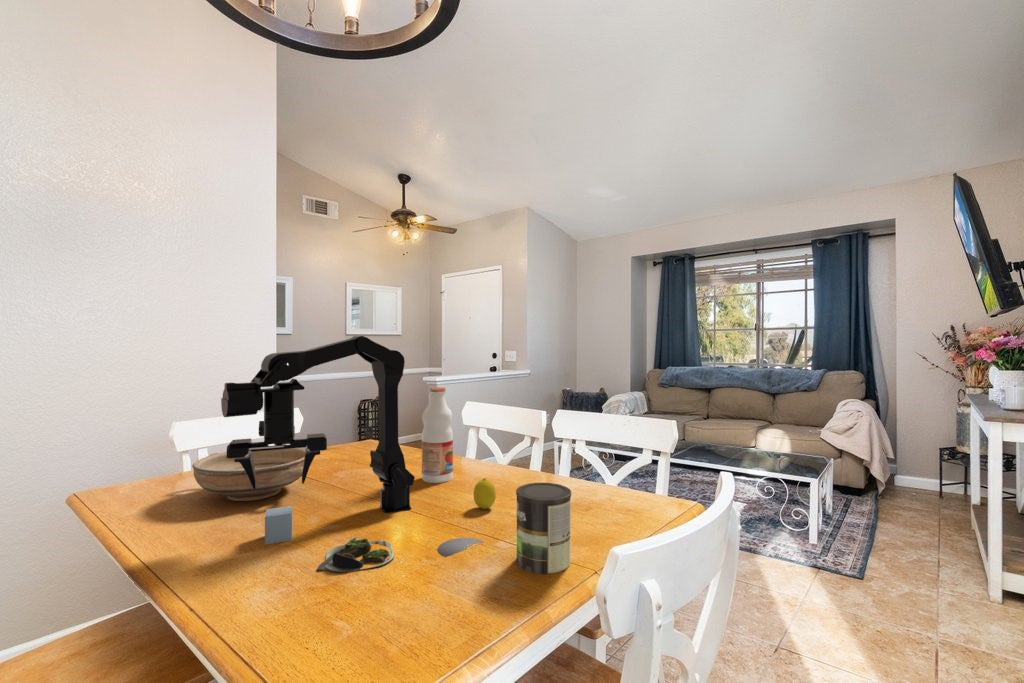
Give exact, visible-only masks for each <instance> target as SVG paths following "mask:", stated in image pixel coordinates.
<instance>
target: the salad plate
mask: <svg viewBox="0 0 1024 683" xmlns="http://www.w3.org/2000/svg"><path fill="white" fill-rule="evenodd" d="M373 545H380V546H382V547H385V548H388V549H389V551H388V550H387V549H385V548H382V549H381V548H378V549H373V550H372V551H371V548H372V546H373ZM325 555H326V556H325V560H323V561H322V562H321V563H320V564H319V565H318V567H317V568H318V571H320V570H322V571H326V572H329V573H334V574H346V573H354V572H355V573H356V572H360V571H361V572H362V571H370V570H375V569H380V568H384V567H385V566H387V565H389V564H391V562H393V560H394V559H395V554H394V550H393V546H392V543H391V542H389V541H386V540H381V539H380V540H378V539H377V540H371V541H369V539H367V538H361V539H359V538H358V537H352V538H351V539H349V540H348V541H347V542H346V543H345V544H341V545H338V546H335V547H332V548H331V549H329V550H328V551H327V552H326V554H325ZM361 556H362V558H361V559H359V560H358V559H357V558H359V557H361ZM370 563H379V564H377V565H373V566H371V567H365V568H364V565H366V564H370Z"/></svg>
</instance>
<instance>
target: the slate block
mask: <svg viewBox="0 0 1024 683" xmlns="http://www.w3.org/2000/svg"><path fill="white" fill-rule="evenodd" d="M292 540H293V506H292V505H291V506H282V507H274V508H273V507H272V508H267V509H266V511H265V515H264V545H269V544H277V543H283V542H291V541H292Z"/></svg>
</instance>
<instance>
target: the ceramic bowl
mask: <svg viewBox="0 0 1024 683" xmlns="http://www.w3.org/2000/svg"><path fill="white" fill-rule="evenodd" d="M305 450H306V448H304V447H303V448H291V449H278V450H266V451H254V452H253V457H254V467H255V475H256V489H253V487H252V484H251V482H250V480H249V477H248V475H247V473H246V471H245V470H244V468H243V467H242V465H241V463H240V462H234V459H235V458H227V451H224V452H223V451H222V452H216V453H214V452H213V453H211V454H208V455H207V456H204V457H202V458H199V459H198V460H196V461H195V462H194V463H193V464H192V468H193V477H194V479H195V482H196V483H197V484H198V485H199V487H201V488H202V489H203V490H205V491H207V492H210V493H213V494H217V495H223V496H226V498H227V499H228V500H229V501H235V502H249V501H257V500H262V499H263V500H264V499H267V498H269V497H272V496H275V495H278V494H279V493H280V492H281V490H282V488H285V487H287V486H289V485H291V484H293V483H294V482H296V481H298V480H299V479H301V478H302V472H303V465H304V458H305Z"/></svg>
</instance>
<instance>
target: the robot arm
mask: <svg viewBox="0 0 1024 683" xmlns="http://www.w3.org/2000/svg"><path fill="white" fill-rule="evenodd" d="M354 355H358V356H359V357H360V358H362V359H363V360H364V361H365V362H368V363H370V364H371V369H372V370H371V371H372V373H373V374H372V375H373V377H374V380H375V382H376V385H377V388H378V393H377V394H378V395H377V396H378V403H377V404H378V443H377V447H376V449H375V450H370V451H369V454H370V463H369V467H370V468H372V472H373V473H374V475H375V476H377V477H378V480H379V482H381V483H382V489H380V490H379V491H380V492H379V494H380V495H379V505H380V508H381V509H382V511H383V513H384V514H390V513H391V514H393V513H397V512H405V511H406V512H407V511H411V510H412V507H411V503H410V500H411V498H410V496H411V494H410V493H411V490H410V489H411V488H410V487H411V486H413V485H414V482H415V479H416V477H415V475H414V474H412V473H411V472H410V471H409V470H408V469H407V468H406V460H405V455H404V453H403V450H402V448H401V446H400V443H399V384H400V383H401V380H402V377H403V375H404V369H405V362H406V361H405V357H404V354H402V353H401V352H400V351H398V350H396V349H395V350H394V349H390V348H388V347H385V346H384V345H381V344H379V343H377V342H375V341H373V340H372V339H371V338H369V337H367V336H366V335H355V336H352V337H350V338H347V339H343V340H340V341H339V340H338V341H335V342H331V343H329V344H325V345H321V346H317V347H313V348H309V349H306V350H298V351H296V350H295V351H284V352H274V353H273V352H272V353H269V354H267V355H266V356H265V357H264V358H263V360H262V361H261V365H260V369H259V371H258V372H257V373H256V374H255V376H254V377H253V378H252V379H251V380H250V382H225V383H224V384H223V385H224V389H223V392H222V398H221V399H220V402H221V413H222V416H223V417H224V418H232V417H242V416H252V415H257V414H258V412H259V411H261V410H262V409H263V408H264V409H263V420H259V422H258V436H259V437H263V441H256V442H252V438H241V439H232V440H231V441H230V442H229V443H228V444H227V446H226V452H227V458H235V459H234V462H240V463H241V465H242V467H243V468H244V470H245V471H246V473H247V475H248V477H249V480H250V482H251V484H252V487H253V489H256V475H255V467H254V457H253V452H254V451H266V450H278V449H291V448H303V449H304V448H305V449H306V450H305V458H304V465H303V472H302V476H301V484H302V485H303V484H305V481H306V479H307V475H308V472H309V471H310V467H311V464H312V463H313V461H314V459H315V457H316V456H318V455H321V451H326V450H328V445H327V444H328V441H327V439H328V438H327V435H326V434H325V433H321V432H320V433H311V434H310V433H308V434H306V438H295V437H296V435H295V434H296V432H295V430H296V428H295V391H302V390H303V391H304V390H305V386H304V385H302V384H301V383H300V382H299V381H298V379H296V378H295V377H297V376H300V375H302V374H303V373H305V372H307V371H308V370H310V369H312V368H313V367H318V366H319V365H323V364H326V363H330V362H333V361H334V362H335V361H337V360H340V359H344V358H347V357H350V356H354ZM288 380H290V381H288ZM286 381H288V382H286Z"/></svg>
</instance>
